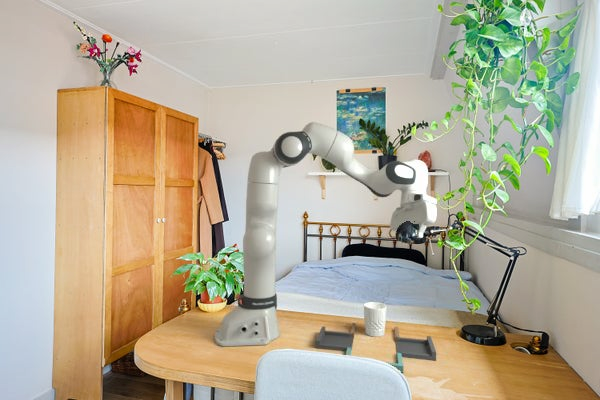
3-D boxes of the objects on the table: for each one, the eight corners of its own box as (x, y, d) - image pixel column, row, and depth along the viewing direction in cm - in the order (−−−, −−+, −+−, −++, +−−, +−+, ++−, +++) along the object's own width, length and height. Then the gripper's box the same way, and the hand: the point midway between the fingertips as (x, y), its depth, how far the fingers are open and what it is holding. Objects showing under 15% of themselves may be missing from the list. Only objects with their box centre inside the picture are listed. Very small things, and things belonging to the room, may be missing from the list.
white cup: (361, 335, 126) (361, 307, 126) (366, 327, 134) (366, 300, 133) (384, 339, 123) (384, 310, 123) (387, 331, 131) (388, 303, 130)
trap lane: (326, 323, 137) (326, 317, 137) (426, 332, 129) (426, 325, 129) (309, 362, 106) (309, 354, 106) (441, 377, 98) (441, 368, 98)
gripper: (388, 206, 139) (384, 240, 134) (426, 193, 121) (423, 232, 116) (401, 211, 141) (397, 245, 136) (440, 198, 123) (438, 238, 118)
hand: (409, 239), depth 126 cm, fingers open, 8 cm apart
